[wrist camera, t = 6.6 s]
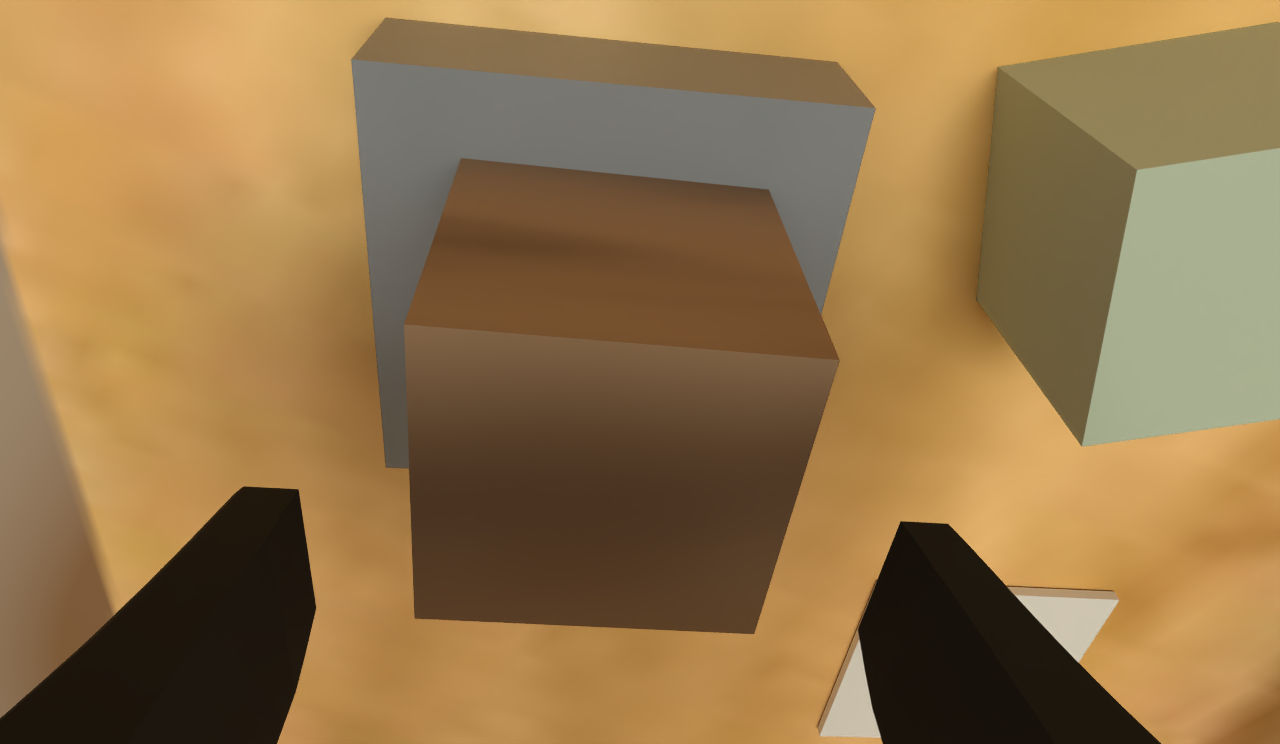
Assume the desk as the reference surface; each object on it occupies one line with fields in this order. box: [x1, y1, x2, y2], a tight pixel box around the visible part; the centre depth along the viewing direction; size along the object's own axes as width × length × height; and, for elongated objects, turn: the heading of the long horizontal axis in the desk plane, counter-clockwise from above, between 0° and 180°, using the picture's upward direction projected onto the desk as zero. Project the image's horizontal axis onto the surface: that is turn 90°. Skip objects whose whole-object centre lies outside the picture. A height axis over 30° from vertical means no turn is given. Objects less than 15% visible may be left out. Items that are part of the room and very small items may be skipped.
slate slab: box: [351, 18, 875, 469], centre depth 17 cm, size 8×8×3 cm
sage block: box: [976, 22, 1280, 447], centre depth 15 cm, size 5×5×5 cm
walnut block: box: [404, 158, 839, 634], centre depth 13 cm, size 5×5×5 cm
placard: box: [818, 581, 1119, 738], centre depth 26 cm, size 7×7×1 cm
